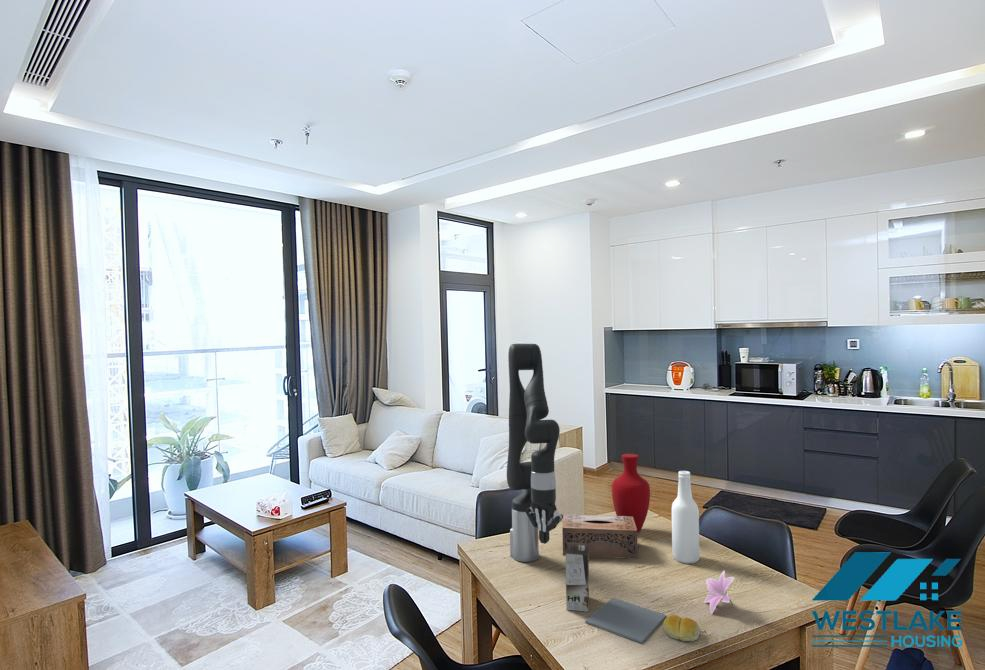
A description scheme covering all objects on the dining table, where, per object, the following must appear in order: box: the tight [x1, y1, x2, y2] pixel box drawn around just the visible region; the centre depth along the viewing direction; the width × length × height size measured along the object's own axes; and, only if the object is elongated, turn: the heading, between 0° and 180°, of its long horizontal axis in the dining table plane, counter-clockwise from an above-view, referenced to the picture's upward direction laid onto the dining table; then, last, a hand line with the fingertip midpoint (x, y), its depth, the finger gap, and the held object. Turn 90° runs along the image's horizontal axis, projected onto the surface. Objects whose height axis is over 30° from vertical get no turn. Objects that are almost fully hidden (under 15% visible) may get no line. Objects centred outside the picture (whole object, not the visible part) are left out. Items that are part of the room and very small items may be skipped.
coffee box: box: [565, 542, 590, 613], centre depth 154 cm, size 9×6×16 cm
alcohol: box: [671, 470, 700, 565], centre depth 183 cm, size 9×9×30 cm
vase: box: [611, 453, 651, 534], centre depth 210 cm, size 15×15×30 cm
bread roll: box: [662, 614, 701, 642], centre depth 138 cm, size 8×9×4 cm
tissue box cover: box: [561, 513, 639, 560], centre depth 193 cm, size 26×14×10 cm, turn 81°
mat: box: [585, 597, 667, 645], centre depth 145 cm, size 16×16×1 cm
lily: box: [703, 570, 735, 615], centre depth 151 cm, size 12×12×10 cm
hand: (544, 542), depth 162 cm, fingers closed
